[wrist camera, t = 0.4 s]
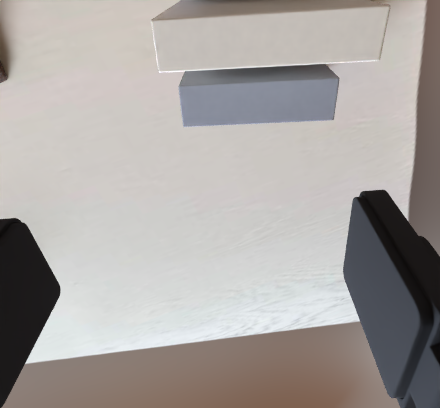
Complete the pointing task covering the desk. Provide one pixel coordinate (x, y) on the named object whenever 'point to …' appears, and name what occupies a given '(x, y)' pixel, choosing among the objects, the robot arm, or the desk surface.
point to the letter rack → (2, 74)
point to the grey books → (258, 95)
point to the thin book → (267, 33)
